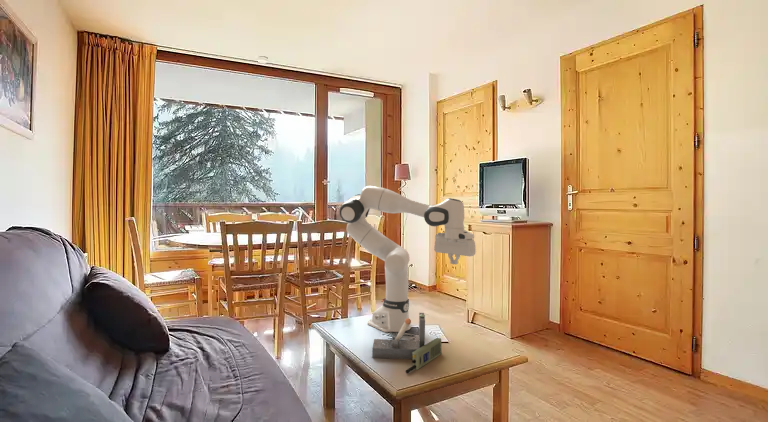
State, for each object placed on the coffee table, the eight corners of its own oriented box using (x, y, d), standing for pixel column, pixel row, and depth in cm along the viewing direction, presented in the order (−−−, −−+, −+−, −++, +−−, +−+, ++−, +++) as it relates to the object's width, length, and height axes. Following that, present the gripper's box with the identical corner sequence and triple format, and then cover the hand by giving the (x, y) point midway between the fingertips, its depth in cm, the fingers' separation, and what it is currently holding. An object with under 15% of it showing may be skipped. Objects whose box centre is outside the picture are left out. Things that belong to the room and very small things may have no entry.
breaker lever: (392, 342, 167) (406, 318, 166) (392, 340, 169) (406, 316, 168) (398, 345, 166) (412, 321, 166) (398, 343, 169) (412, 319, 168)
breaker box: (372, 357, 164) (372, 317, 163) (374, 348, 174) (374, 310, 173) (424, 359, 162) (425, 318, 162) (423, 349, 172) (424, 311, 172)
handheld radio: (442, 354, 168) (410, 376, 148) (435, 352, 170) (403, 374, 150) (442, 338, 168) (410, 358, 148) (435, 337, 170) (402, 356, 150)
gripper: (431, 232, 190) (431, 262, 190) (470, 236, 176) (469, 267, 177) (439, 231, 194) (439, 260, 195) (477, 235, 181) (477, 265, 181)
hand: (454, 263), depth 186 cm, fingers closed
